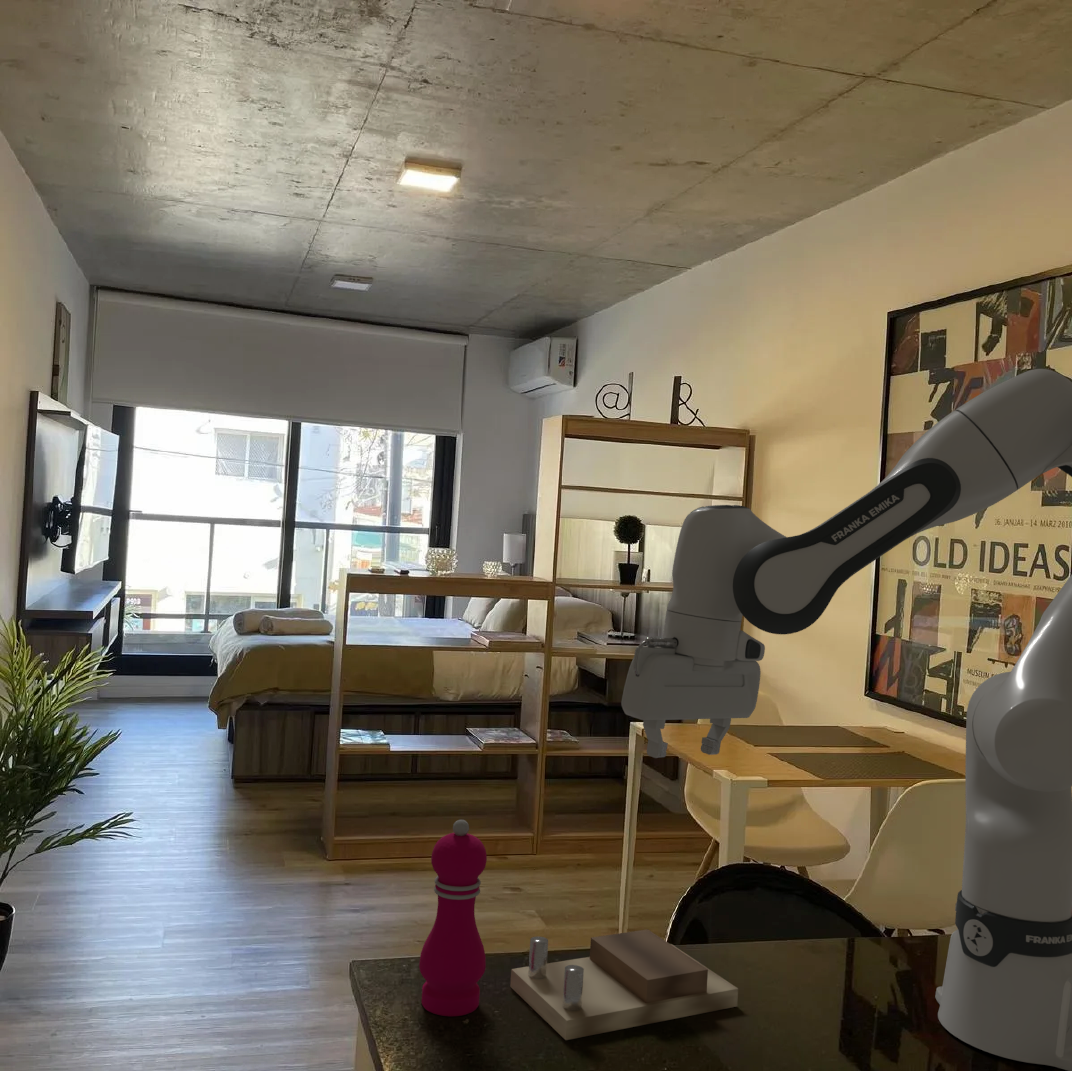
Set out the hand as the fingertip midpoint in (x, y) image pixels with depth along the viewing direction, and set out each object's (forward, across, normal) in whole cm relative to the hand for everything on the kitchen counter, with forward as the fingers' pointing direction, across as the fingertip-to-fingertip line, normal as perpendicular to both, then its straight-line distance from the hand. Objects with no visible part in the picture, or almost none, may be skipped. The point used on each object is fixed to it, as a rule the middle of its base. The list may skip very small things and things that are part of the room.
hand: (683, 755), depth 121 cm
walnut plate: (+25, -4, -3) cm, 25 cm away
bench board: (+27, -7, -2) cm, 28 cm away
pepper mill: (+28, -24, +7) cm, 38 cm away
